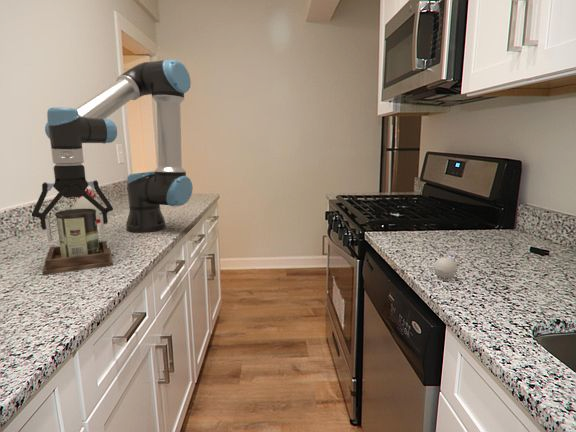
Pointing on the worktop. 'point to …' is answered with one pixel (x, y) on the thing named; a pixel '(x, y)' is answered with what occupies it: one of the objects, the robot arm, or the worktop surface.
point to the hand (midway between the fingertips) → (77, 237)
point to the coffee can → (77, 232)
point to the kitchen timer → (87, 205)
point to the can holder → (76, 260)
